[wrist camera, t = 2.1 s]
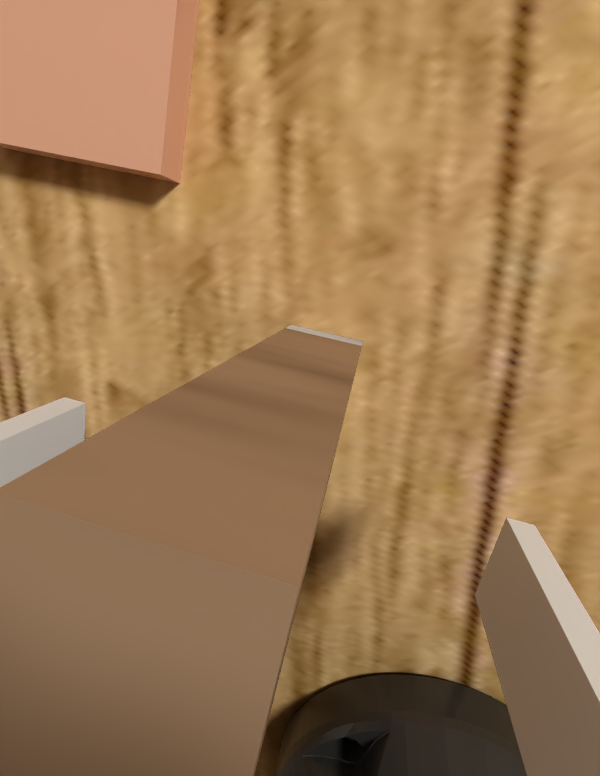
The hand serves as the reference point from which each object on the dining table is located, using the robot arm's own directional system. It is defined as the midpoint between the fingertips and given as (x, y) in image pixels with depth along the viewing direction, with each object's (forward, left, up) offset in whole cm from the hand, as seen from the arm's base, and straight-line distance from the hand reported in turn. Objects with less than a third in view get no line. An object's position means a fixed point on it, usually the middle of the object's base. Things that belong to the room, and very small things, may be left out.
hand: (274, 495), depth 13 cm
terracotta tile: (+13, +11, -6) cm, 18 cm away
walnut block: (0, 0, -6) cm, 6 cm away
